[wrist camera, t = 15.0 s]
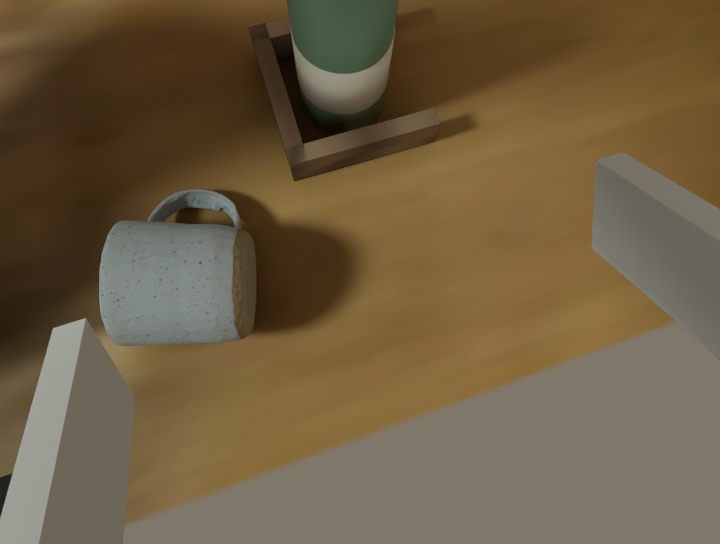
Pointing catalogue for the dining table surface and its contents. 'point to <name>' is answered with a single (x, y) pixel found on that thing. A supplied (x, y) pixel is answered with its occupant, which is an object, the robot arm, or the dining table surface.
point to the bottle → (342, 59)
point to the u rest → (338, 149)
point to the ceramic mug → (178, 277)
